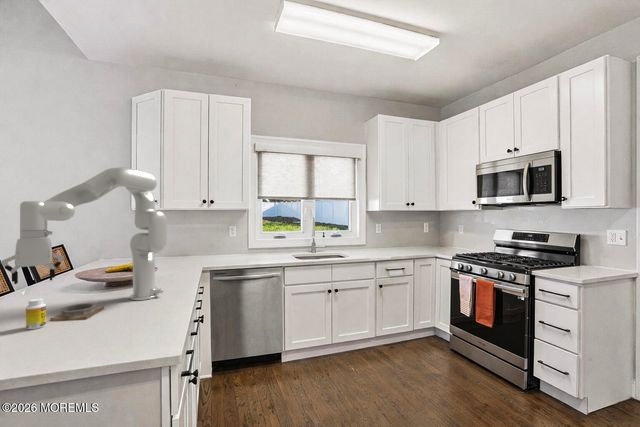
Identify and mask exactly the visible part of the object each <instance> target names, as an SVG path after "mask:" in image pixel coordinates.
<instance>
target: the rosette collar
mask: <svg viewBox="0 0 640 427" xmlns="http://www.w3.org/2000/svg"><path fill="white" fill-rule="evenodd" d="M103 309H104V310H105V306H96V304H95V303H80V304H79V303H77V304H73V305H69V306H66V307H64V308H61V313H59V314H57V315H55V316H51V317H50V320H49V321H50V322H54V321H55V322H57V321H58V322H59V321H80V320H81V321H82V320H88V319H89V318H92V317H93V316H95V315H97V314H99V313H100V312H102V311H104V310H103Z"/></svg>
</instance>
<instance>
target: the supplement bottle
mask: <svg viewBox="0 0 640 427" xmlns="http://www.w3.org/2000/svg"><path fill="white" fill-rule="evenodd" d="M46 325H47V305H46V303H44V299H43V298H42V297H39V298H32V299H29V300H28V305H26V306H25V328H26V329H27V330H37V329H41V328H44V327H45V326H46Z"/></svg>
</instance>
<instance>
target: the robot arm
mask: <svg viewBox="0 0 640 427" xmlns="http://www.w3.org/2000/svg"><path fill="white" fill-rule="evenodd" d="M157 182H158V181H157V179H156V177H155V176H154V175H153V174H151V173H148V172H145V171H141V170H136V169H132V168H128V167H123V166H120V167H119V166H118V167H111V168H107V169H104V170H103V171H101V172H99V173H98V174H96V175H94V176H92V177H91V178H89V179H87V180H85V181H83V182H82V183H79V184H77V185H75V186H72V187H71V188H68V189H66V190H64V191H61V192H59V193H57V194H55V195H54V196H52V197H50V198H49V199H48V198H47V200H45V201H40V200H38V201H36V200H35V201H32V200H29V201H28V200H26V201H22V202H20V205H19V229H20V230H19V238H18V239H17V240H16V243H15V252H14V255H12V256H9V257H8V258H4V259H2V260H1V261H0V264H1V265H2V266H3V268H4V270H6V271H8V272H10V273H11V282H13V283H14V284H13V285H17V284H18V283H19V282H18V281H19V272H18V270H19V269H20V268H25V267H27V268H28V267H41V266H48V268H50V269H49V281H53V279H54V278H55V277H56V276H55V275H56V274H55V273H56V272H55V270H56V269H57V268H58V267H59V266H60V265H61V264H62V263H63V261H64V259H65V257H64V256H63V255H61V254H57V253H55V252H53V249H52V241H51V238H50V237H49V236H52V235H53V231H50V230H48V221H56V222H57V221H58V222H59V221H60V222H64V221H67V220H70V219H71V218H73V217H74V216H75V213H76V210H75V207H77V206H81V205H84V204H88V203H92V202H95V201H97V200H100V198H102V197H104V196H105V195H107V194H108V193H111V192H112V191H113V190H115V189H117V188H119V187H122V188H123V187H124V188H125V189H126V190H127V191H128V192H129V193H131V195H132V196H133V198H134V200H135V201H134V202H135V208H134V209H135V210H134V226H135V227H136V229H138V230H141V231H142V230H143V231H148V232H138V233H136V234H134V235H133V236H132V237H131V239H130V241H129V246H130V251H131V255H132V292H133V293H132V294H131V295H129V300H131V301H146V300H150V299H151V300H152V299H155V298H157V297H159V295H160V294H164V292H165V290H164V288H158V286H157V285H156V261H155V260H156V259H155V256H154V254H159V253H161V252H162V251H164V249H165V248H166V244H167V238H168V236H167V234H168V219H167V216H166V214H165V213H164V212H162V211H160V210H156V200H155V197H154V194H153V192H152V191H154V190H155V189H157V188H156V187H157V184H158V183H157ZM53 258H55V259H57V261H56V262H55V263H54V264H53V263H52V261H53ZM13 260H14V265H15V266H14V267H12V266H11V265H10V264H9V262H12V261H13Z"/></svg>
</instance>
